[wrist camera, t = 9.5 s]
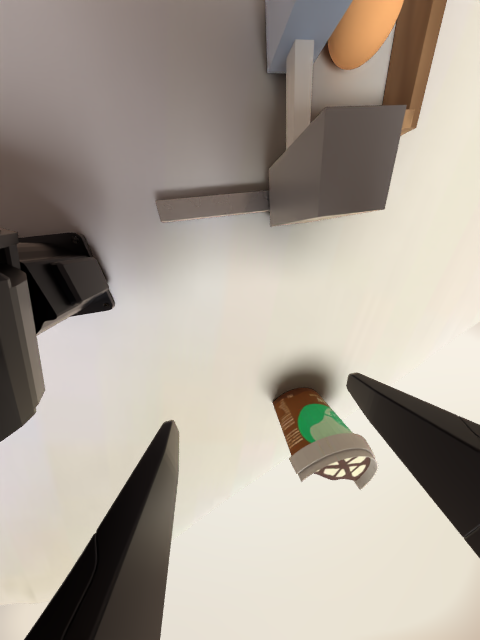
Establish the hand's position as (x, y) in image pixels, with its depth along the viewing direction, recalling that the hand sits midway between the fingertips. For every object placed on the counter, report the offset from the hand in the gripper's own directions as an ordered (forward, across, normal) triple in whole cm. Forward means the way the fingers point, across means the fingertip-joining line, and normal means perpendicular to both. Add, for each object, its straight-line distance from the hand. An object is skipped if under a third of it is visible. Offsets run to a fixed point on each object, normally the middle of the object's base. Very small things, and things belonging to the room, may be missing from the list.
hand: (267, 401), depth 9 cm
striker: (+12, -7, -14) cm, 19 cm away
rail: (+12, -3, -10) cm, 16 cm away
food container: (+12, -10, +17) cm, 23 cm away
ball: (+10, -11, -19) cm, 24 cm away
